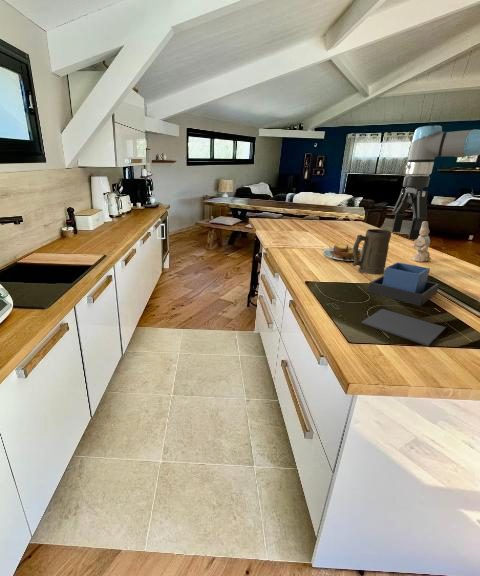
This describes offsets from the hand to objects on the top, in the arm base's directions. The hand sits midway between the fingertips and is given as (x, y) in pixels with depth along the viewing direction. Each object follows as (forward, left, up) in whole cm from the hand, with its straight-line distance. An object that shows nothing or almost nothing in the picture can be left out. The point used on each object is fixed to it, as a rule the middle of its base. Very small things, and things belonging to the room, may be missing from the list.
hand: (403, 235), depth 118 cm
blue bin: (-4, +3, -21) cm, 22 cm away
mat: (-14, +30, -22) cm, 40 cm away
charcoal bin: (-4, +3, -22) cm, 23 cm away
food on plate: (+36, -35, -22) cm, 55 cm away
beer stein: (+17, -15, -22) cm, 32 cm away
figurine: (+8, -57, -22) cm, 62 cm away
